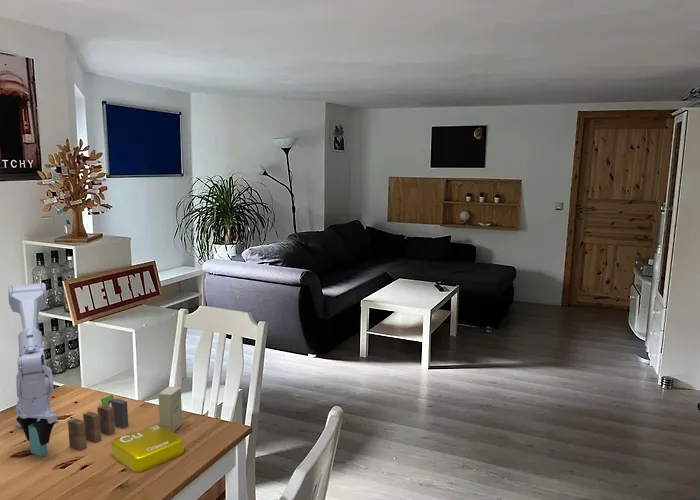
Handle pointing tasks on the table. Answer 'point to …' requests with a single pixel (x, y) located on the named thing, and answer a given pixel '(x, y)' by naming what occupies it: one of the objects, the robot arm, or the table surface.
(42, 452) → the teal domino
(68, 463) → the table surface
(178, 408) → the skincare box
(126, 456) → the element tile
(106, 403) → the geometric puzzle
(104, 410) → the walnut domino
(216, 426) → the table surface
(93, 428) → the walnut domino
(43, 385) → the robot arm
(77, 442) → the walnut domino
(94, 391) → the table surface
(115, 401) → the black end domino
